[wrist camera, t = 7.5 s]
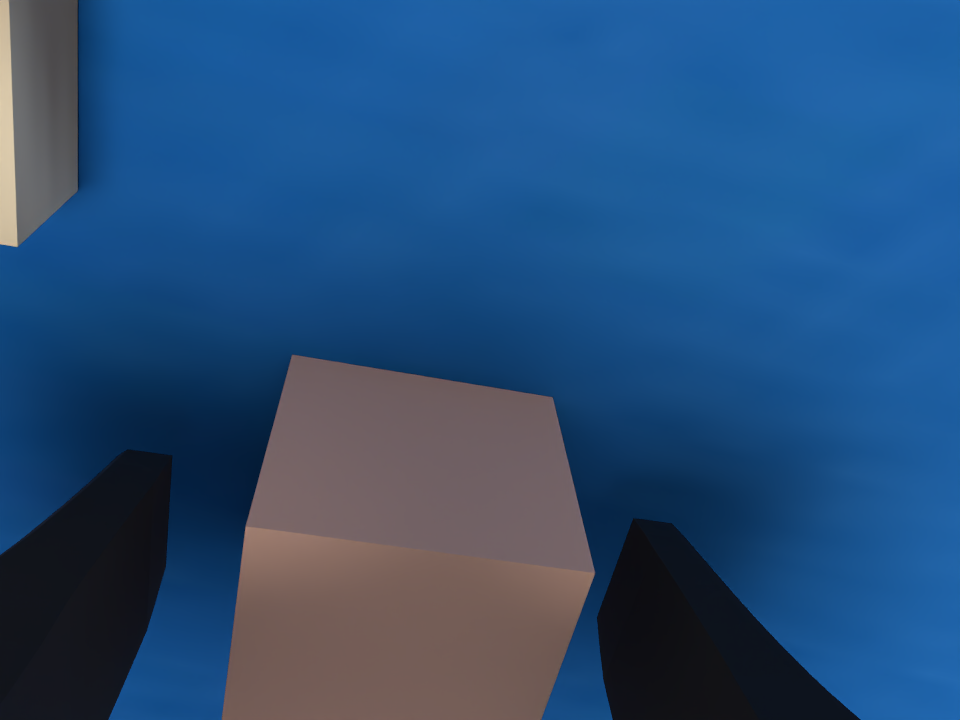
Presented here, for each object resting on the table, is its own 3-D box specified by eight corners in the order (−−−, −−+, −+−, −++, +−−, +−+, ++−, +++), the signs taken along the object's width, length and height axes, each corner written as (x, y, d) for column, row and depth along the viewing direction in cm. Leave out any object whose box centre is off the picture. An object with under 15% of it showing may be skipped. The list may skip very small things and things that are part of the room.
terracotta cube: (494, 585, 16) (514, 791, 12) (264, 556, 15) (216, 764, 12) (552, 394, 14) (594, 572, 10) (292, 351, 13) (245, 525, 10)
